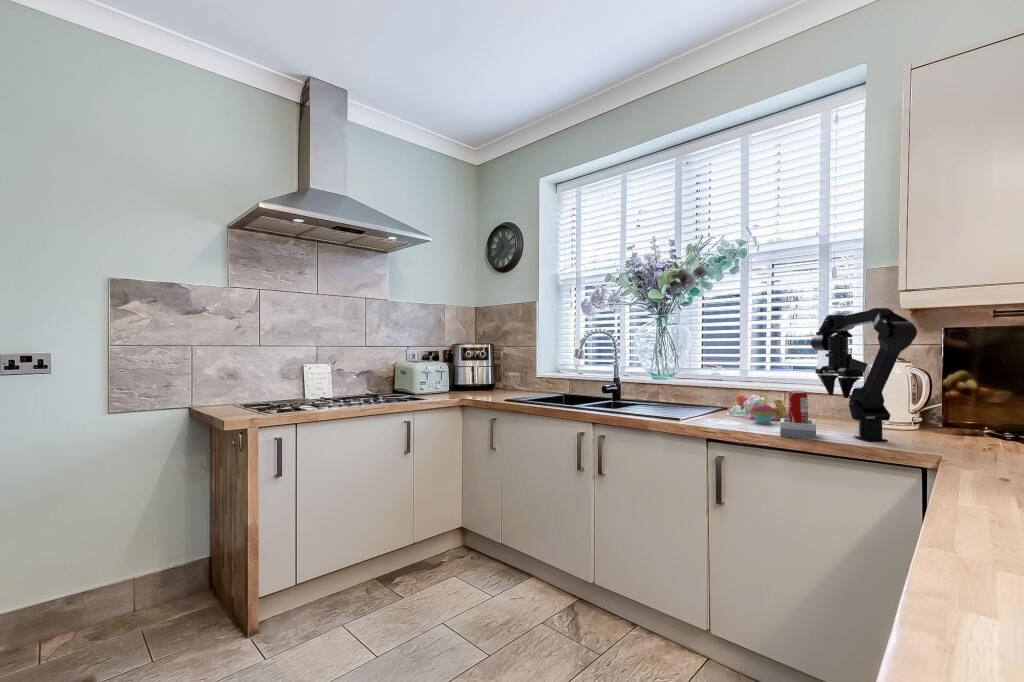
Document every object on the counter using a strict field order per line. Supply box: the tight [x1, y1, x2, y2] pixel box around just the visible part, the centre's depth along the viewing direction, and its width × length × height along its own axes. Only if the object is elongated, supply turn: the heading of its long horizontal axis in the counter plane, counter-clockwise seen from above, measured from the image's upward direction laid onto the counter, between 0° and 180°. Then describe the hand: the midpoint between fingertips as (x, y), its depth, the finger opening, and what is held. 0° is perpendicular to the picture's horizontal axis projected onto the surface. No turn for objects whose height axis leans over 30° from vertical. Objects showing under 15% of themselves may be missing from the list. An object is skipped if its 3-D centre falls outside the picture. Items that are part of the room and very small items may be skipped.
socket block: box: [779, 418, 817, 440], centre depth 164 cm, size 10×10×4 cm
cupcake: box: [750, 391, 775, 425], centre depth 189 cm, size 9×8×12 cm
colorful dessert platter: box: [726, 393, 789, 421], centre depth 207 cm, size 25×24×9 cm
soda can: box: [787, 389, 809, 424], centre depth 164 cm, size 6×6×12 cm
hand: (838, 396), depth 170 cm, fingers open, 9 cm apart
